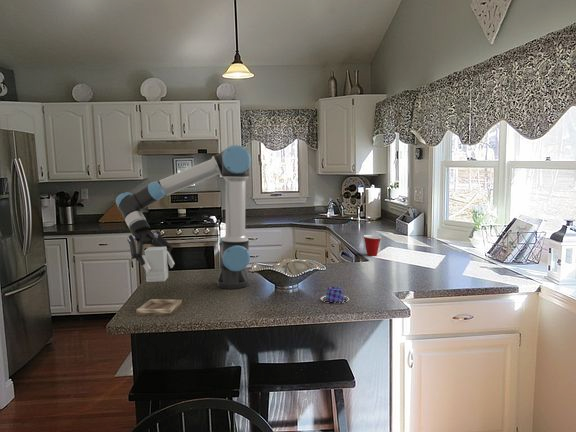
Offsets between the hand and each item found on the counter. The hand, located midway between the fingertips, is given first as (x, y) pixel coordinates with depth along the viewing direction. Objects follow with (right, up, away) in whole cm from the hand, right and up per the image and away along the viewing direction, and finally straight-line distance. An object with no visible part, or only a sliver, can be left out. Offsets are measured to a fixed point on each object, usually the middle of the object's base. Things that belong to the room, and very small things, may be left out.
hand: (161, 268), depth 183 cm
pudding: (+69, -15, +12) cm, 72 cm away
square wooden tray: (-2, -17, +4) cm, 17 cm away
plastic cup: (+100, -4, +100) cm, 142 cm away
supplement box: (-2, -5, +3) cm, 6 cm away
